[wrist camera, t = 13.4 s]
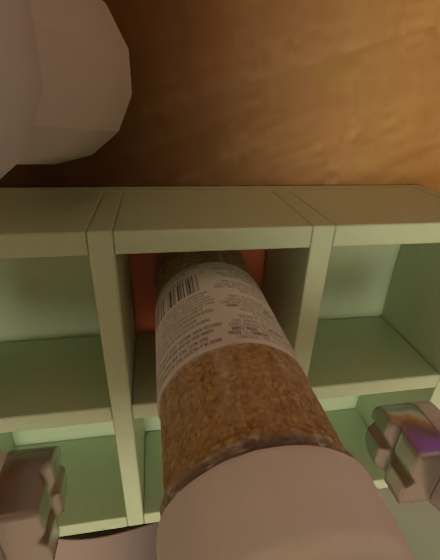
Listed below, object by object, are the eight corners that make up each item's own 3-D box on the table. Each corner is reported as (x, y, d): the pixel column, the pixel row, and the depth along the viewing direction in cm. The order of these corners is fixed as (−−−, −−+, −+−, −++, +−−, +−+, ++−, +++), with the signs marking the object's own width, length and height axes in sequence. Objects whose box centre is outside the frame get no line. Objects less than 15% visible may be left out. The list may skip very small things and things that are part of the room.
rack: (8, 444, 22) (-34, 551, 17) (-80, 187, 15) (-198, 238, 10) (358, 406, 26) (409, 484, 21) (420, 184, 19) (521, 220, 14)
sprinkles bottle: (188, 328, 19) (247, 712, 7) (132, 263, 17) (91, 662, 5) (263, 281, 19) (457, 616, 7) (215, 208, 16) (380, 515, 5)
